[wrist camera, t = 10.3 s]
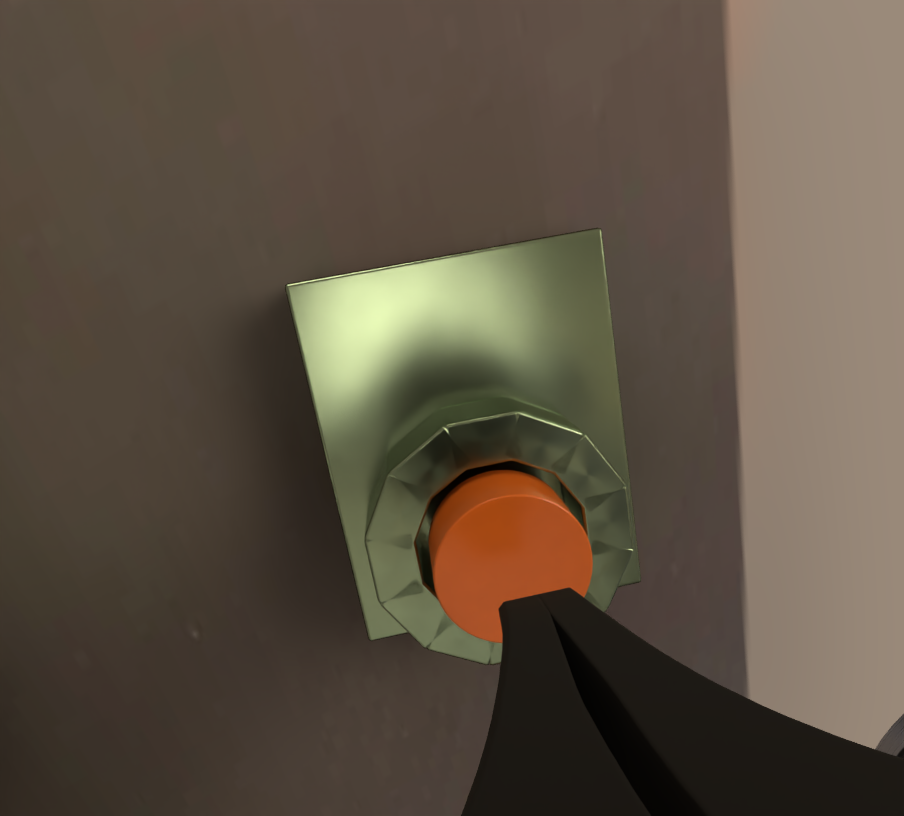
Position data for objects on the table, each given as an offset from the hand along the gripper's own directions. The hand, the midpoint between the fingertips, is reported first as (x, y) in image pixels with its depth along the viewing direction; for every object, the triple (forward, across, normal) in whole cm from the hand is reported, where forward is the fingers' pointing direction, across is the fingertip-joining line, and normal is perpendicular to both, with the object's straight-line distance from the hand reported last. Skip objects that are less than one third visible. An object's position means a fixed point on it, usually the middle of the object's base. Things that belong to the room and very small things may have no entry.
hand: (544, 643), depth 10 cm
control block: (+8, 0, -2) cm, 8 cm away
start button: (+4, 0, 0) cm, 4 cm away
